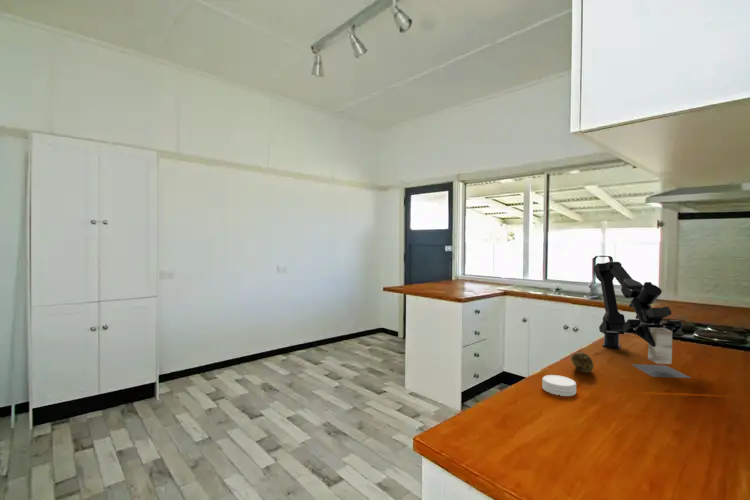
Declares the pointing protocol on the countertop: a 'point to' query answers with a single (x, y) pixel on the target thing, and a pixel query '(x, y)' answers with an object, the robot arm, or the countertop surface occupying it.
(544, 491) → the countertop surface
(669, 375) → the rubber mat
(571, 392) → the coaster
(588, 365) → the potato
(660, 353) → the tall block
